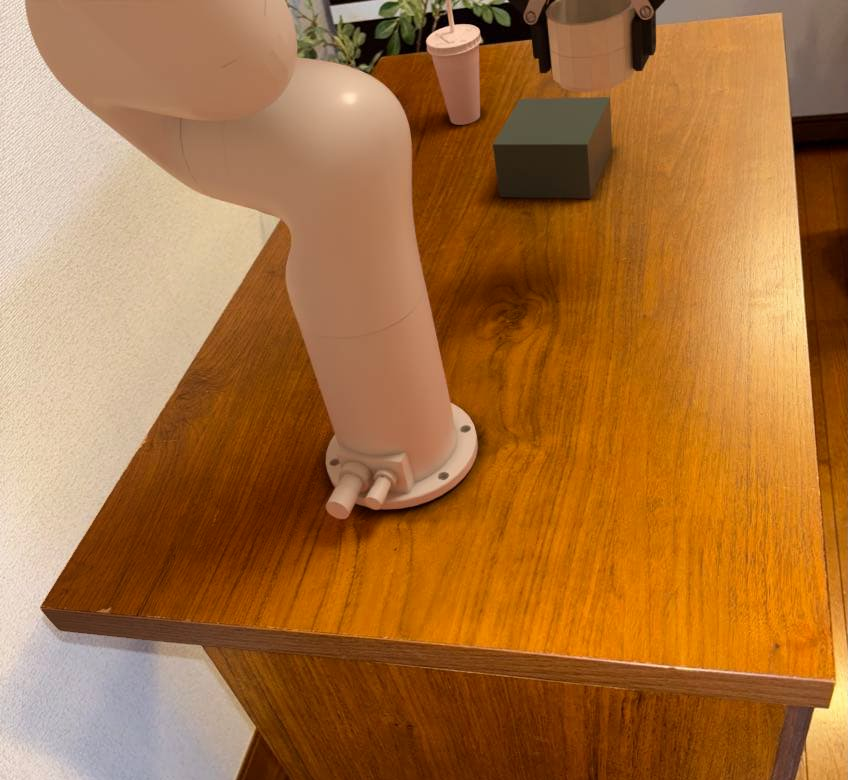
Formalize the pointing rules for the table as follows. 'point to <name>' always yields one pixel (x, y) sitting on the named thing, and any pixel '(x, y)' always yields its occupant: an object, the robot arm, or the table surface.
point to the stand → (554, 148)
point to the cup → (590, 43)
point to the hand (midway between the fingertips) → (594, 63)
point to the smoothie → (457, 68)
